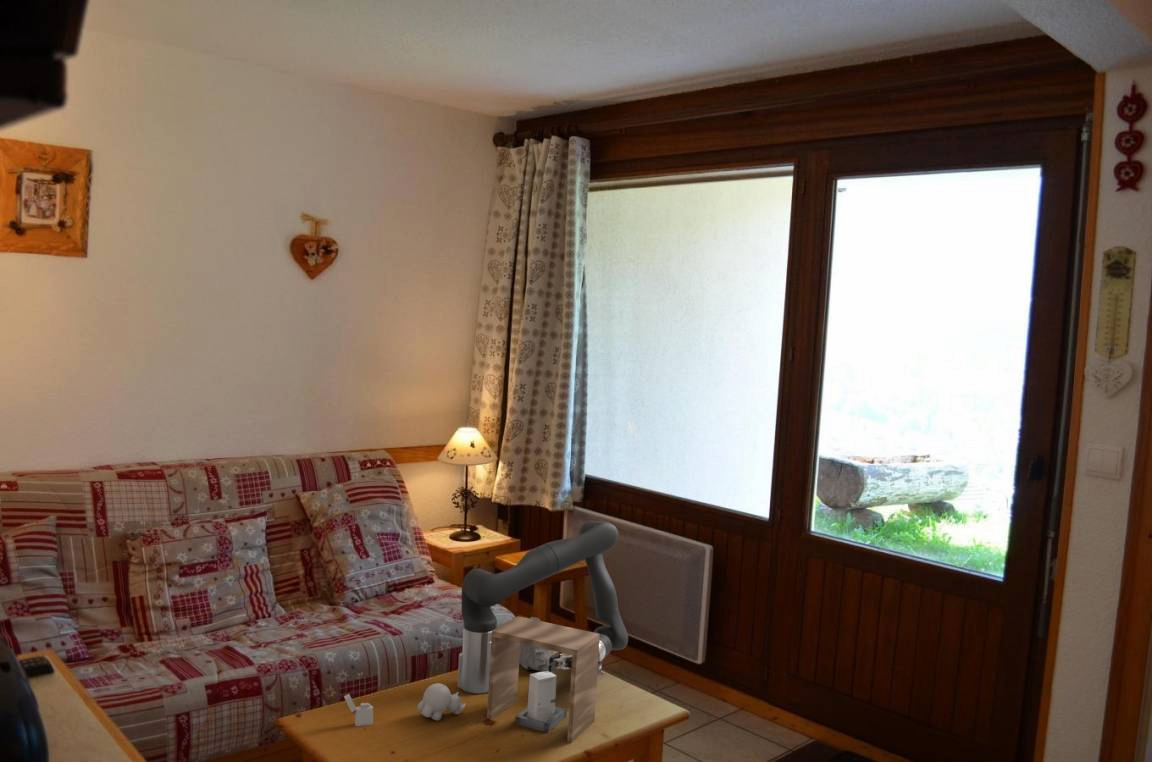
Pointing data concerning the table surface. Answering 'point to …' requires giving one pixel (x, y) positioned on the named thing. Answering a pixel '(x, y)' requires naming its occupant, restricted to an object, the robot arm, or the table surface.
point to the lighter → (361, 712)
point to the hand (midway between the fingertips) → (564, 672)
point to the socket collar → (540, 725)
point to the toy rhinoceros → (439, 702)
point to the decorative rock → (534, 656)
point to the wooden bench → (550, 638)
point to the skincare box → (541, 696)
